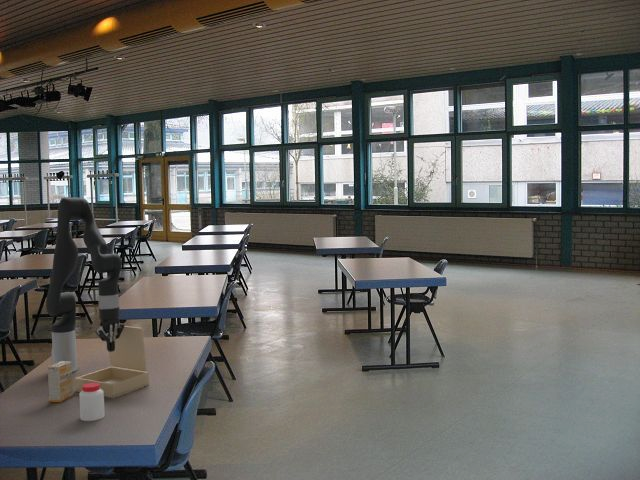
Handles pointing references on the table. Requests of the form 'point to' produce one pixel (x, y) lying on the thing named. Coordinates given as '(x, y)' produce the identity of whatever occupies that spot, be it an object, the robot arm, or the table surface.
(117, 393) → the box
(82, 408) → the pill bottle
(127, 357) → the flap
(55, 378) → the supplement box
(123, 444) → the table surface
